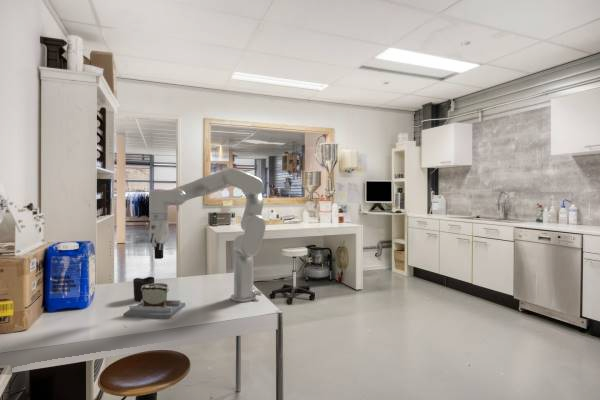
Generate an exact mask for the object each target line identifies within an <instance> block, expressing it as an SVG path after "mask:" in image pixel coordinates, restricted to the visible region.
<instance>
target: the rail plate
mask: <svg viewBox="0 0 600 400" xmlns="http://www.w3.org/2000/svg"><path fill="white" fill-rule="evenodd" d="M181 301H182V300H181V299H167V300H166V307H160V306H143V299H142V300H141V302H139V303H138V304H137V305H130V306H129V309H127V311H125V312H123V318H139V319H140V318H142V319H144V318H147V319H171V318H173V317H174V315H176V314H178V313H179V311H181V310H182V309H183V308H185V307H186V302H181Z"/></svg>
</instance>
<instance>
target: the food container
mask: <svg viewBox="0 0 600 400" xmlns="http://www.w3.org/2000/svg"><path fill="white" fill-rule="evenodd" d="M141 290H142V296H143V306H160V307H166V300H168V299H167V298H168V292H169V291H170V287H169V286H168V284H167V283H164V282H163V283H162V282H154V283H153V284H147V285H143V286H142V287H141Z"/></svg>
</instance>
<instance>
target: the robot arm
mask: <svg viewBox="0 0 600 400" xmlns="http://www.w3.org/2000/svg"><path fill="white" fill-rule="evenodd" d="M229 187H235V188H236V189H239V190H240V191H241V192H242V193H243V194H244V196H245V199H246V202H245V208H244V210H243V211H244V212H243V214H242V218H241V220H240V228H241V229H242V231H244V234H238V235H237V236H235V238H234V239H233V242H232V253H233V293H232V295H230V300H231V301H233V302H241V303H243V302H246V303H247V302H251V301H254V300H255V299H256V298H257V296H263V295H262V294H263V291H261V290H256V289H255V287H254V257H255V256H256V255H257V254H258V253H259V251H260V249H261V246H262V243H263V239H264V237H265V236H264V235H265V232H266V227H267V226H266V224H267V223H266V221H265V219H264V217H263V216H262V212H263V208H264V197H263V194H262V192H263V191H264V189H265V188H264V187H265V185H264V182H263V180H262V179H261V178H260V177H258V176H255V175H253V174H251V173H248V172H246V171H244V170H241V169H239V168H237V167H230V168H225V169H223V170H220V171H218V172H217V171H216V172H214V173H211V174H208V175H206V176H203V177H201V178H198V179H196V180H193V181H191V182H189V183H185V184H182V185H180V186H177V187H174V188H172V189H163V188H159V189H158V188H157V189H156V188H155V189H154V188H153V189H150V190H149V193H148V201H149V204H148V205H149V206H148V207H149V208H148V209H149V210H148V211H149V213H148V214H149V215H148V216H149V217H148V219H149V227H148V228H149V229H148V240H149V243H150V244H151V247H152V248H153V250H154V259H155V260H161V259H163V258H164V248H165V246H164V245H165V244H166V243H167V242H169V240H170V229H169V221H168V219H169V218H168V216H169V213H168V212H169V211H168V209H169V208H168V207H169V205H170V206H182V205H184V204H185V203H186V202H187V201H189V200H192V199H196V198H199V197H205V196H206V197H207V196H209V195H212V194H214V193H217V192H219V191H222V190H225V189H227V188H229Z"/></svg>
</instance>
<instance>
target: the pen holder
mask: <svg viewBox="0 0 600 400" xmlns="http://www.w3.org/2000/svg"><path fill="white" fill-rule="evenodd" d="M132 282H133V300H134V301H135V302H139V303H141V300H142V299H143V296H142V290H141V287H142V286H143V285H147V284H153V283H155V277H154V276H147V277H144V278H141V277H136V278H134V279H133V281H132Z"/></svg>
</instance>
